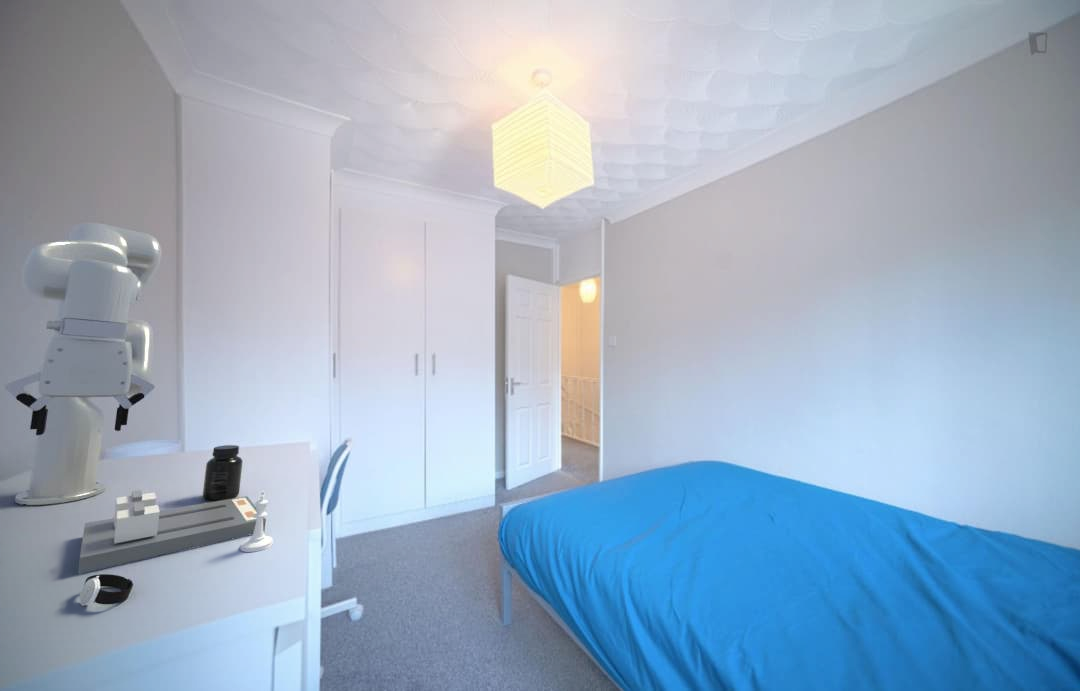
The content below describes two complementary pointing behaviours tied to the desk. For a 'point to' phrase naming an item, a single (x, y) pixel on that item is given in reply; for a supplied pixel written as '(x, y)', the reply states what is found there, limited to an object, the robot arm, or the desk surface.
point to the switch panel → (169, 533)
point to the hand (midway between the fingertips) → (80, 431)
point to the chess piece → (258, 530)
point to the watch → (95, 594)
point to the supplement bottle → (223, 474)
